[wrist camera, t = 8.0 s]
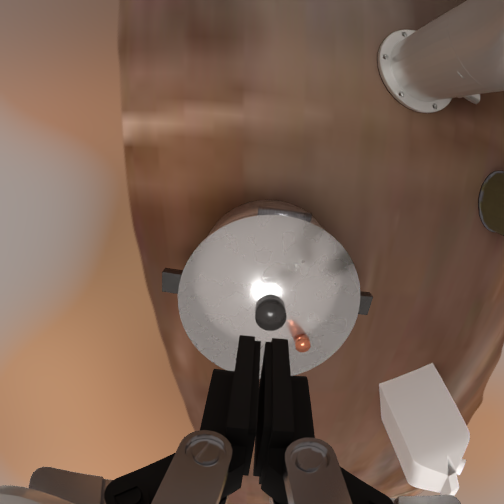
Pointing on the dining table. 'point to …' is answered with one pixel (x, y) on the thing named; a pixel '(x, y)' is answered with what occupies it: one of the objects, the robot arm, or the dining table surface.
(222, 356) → the lid
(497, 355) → the dining table surface
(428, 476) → the milk
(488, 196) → the canister
